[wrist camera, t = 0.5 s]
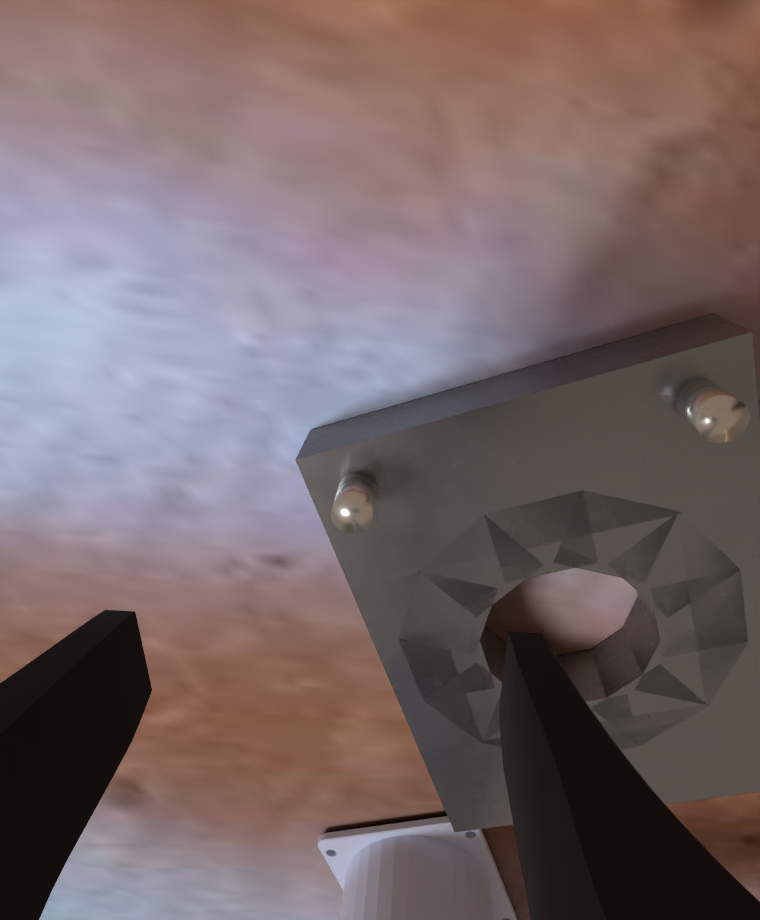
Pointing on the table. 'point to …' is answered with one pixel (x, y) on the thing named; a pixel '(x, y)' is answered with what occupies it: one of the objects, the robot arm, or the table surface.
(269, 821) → the table surface
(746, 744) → the jig
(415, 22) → the table surface
